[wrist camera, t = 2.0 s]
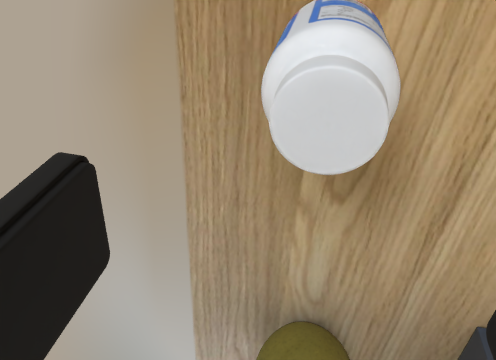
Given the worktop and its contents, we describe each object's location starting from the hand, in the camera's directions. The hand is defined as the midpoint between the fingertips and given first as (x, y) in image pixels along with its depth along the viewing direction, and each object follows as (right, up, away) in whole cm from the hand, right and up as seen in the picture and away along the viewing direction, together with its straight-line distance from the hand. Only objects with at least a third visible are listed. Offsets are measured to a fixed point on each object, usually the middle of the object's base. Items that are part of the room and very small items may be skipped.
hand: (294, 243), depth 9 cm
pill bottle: (+4, +8, +13) cm, 16 cm away
